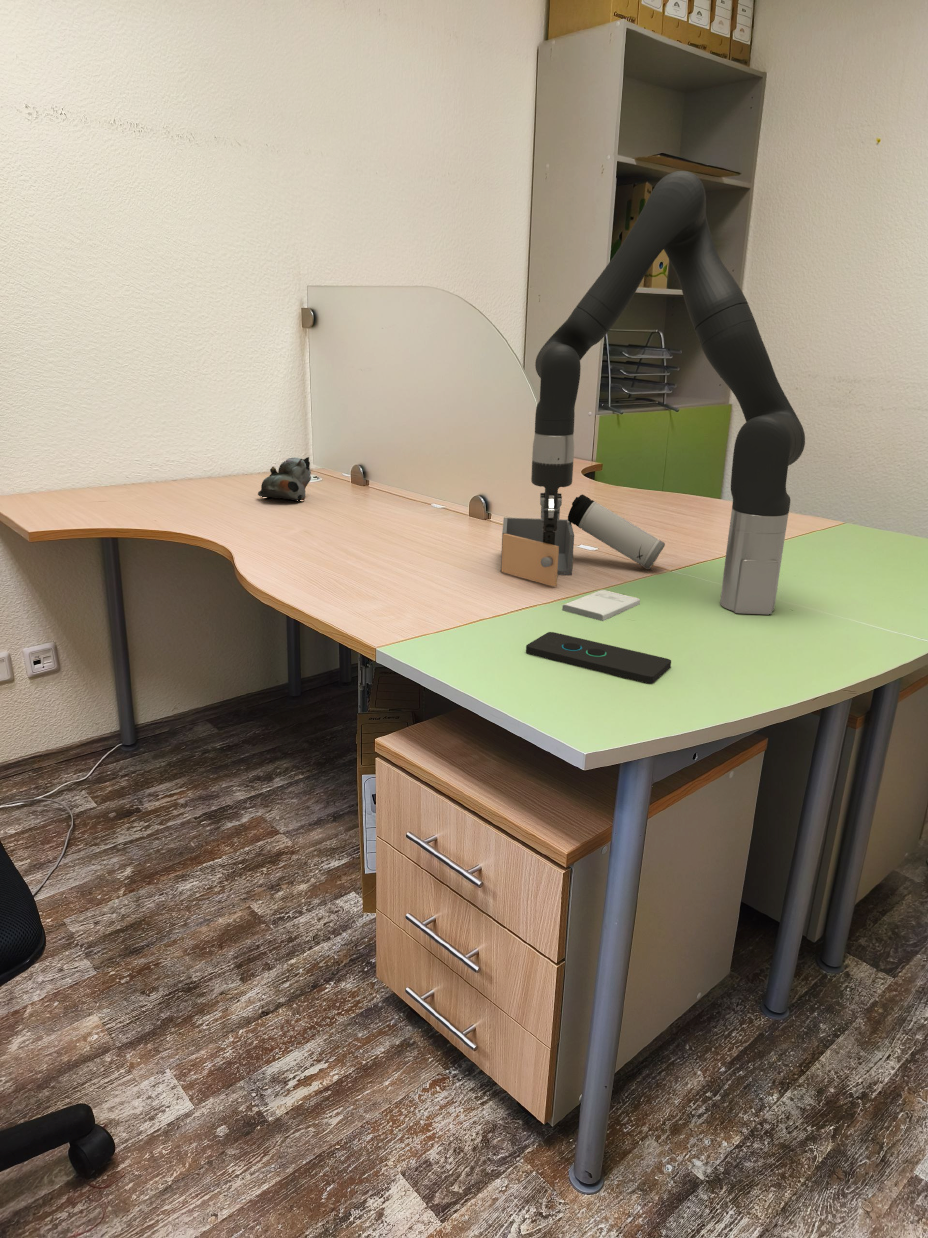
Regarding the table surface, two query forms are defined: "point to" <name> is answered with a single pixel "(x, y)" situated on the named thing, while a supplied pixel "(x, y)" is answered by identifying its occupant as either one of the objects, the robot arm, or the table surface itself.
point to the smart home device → (599, 657)
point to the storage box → (534, 531)
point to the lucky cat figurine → (287, 480)
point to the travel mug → (615, 531)
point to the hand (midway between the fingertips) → (548, 550)
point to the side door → (530, 559)
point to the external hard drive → (601, 605)
